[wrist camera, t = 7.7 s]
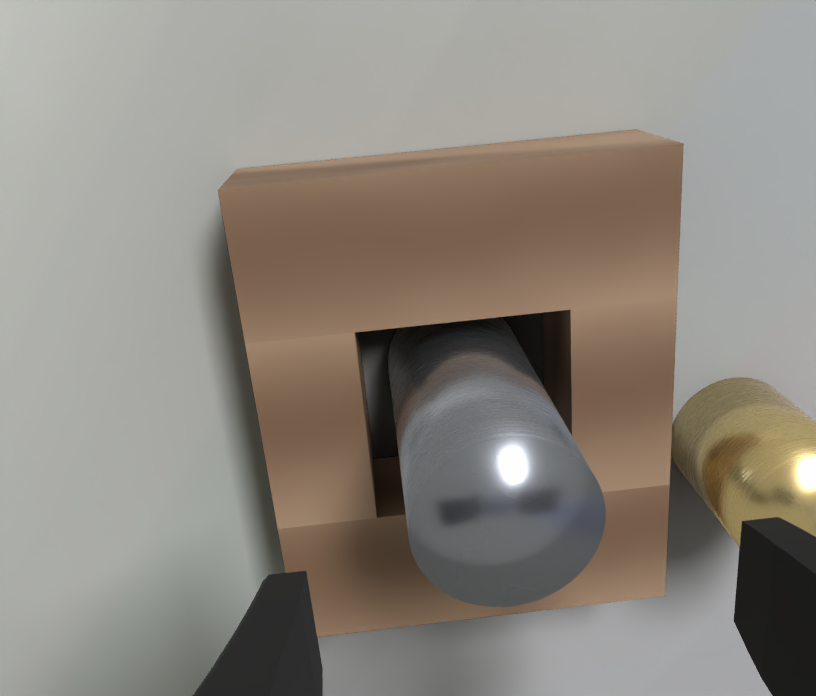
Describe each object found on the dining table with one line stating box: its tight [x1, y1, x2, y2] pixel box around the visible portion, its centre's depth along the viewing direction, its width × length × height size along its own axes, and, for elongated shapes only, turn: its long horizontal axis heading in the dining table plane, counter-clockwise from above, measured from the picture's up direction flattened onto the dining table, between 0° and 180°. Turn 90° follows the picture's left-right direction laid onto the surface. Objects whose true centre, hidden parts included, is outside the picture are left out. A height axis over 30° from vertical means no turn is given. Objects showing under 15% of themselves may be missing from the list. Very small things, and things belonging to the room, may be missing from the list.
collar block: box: [218, 130, 683, 637], centre depth 20 cm, size 12×10×3 cm
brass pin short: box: [671, 378, 816, 547], centre depth 21 cm, size 4×4×4 cm
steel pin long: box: [388, 317, 606, 607], centre depth 18 cm, size 4×4×8 cm
